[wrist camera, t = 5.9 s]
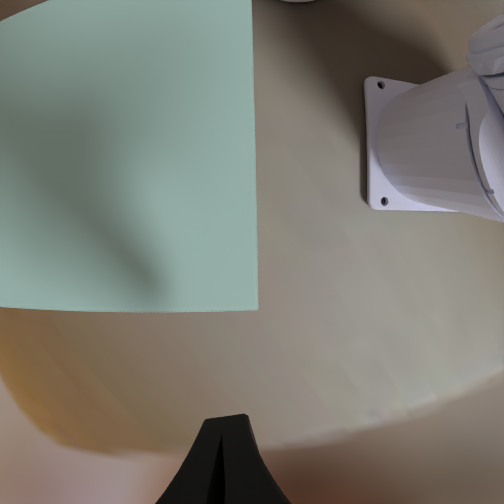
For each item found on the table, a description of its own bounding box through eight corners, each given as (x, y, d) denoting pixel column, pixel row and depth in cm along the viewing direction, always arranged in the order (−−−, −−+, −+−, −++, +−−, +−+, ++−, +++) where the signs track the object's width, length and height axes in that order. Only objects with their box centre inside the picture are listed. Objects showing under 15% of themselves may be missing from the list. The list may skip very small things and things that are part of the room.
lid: (249, -28, 10) (250, -34, 10) (257, 304, 14) (258, 310, 13) (-11, 32, 10) (-17, 29, 9) (-9, 301, 13) (-15, 305, 13)
